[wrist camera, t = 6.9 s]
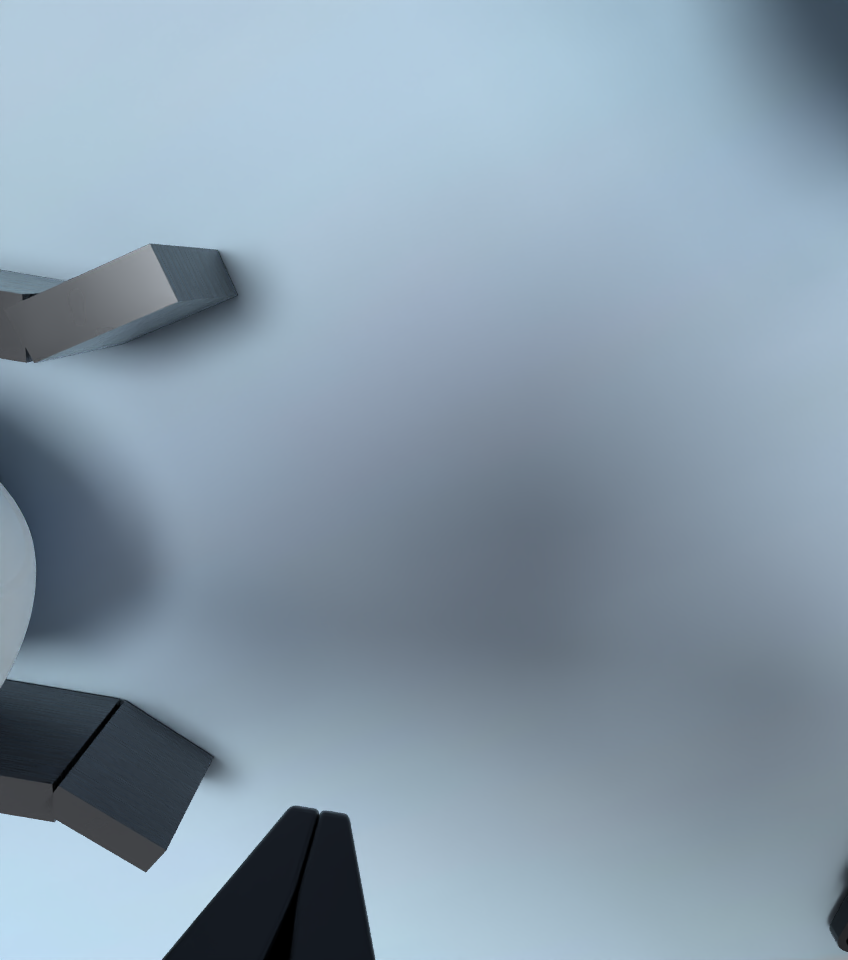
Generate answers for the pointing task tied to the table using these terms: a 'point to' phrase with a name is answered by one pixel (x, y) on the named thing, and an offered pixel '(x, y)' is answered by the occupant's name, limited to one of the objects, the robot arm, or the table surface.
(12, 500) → the white folded round lump
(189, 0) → the table surface
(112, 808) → the bracket
